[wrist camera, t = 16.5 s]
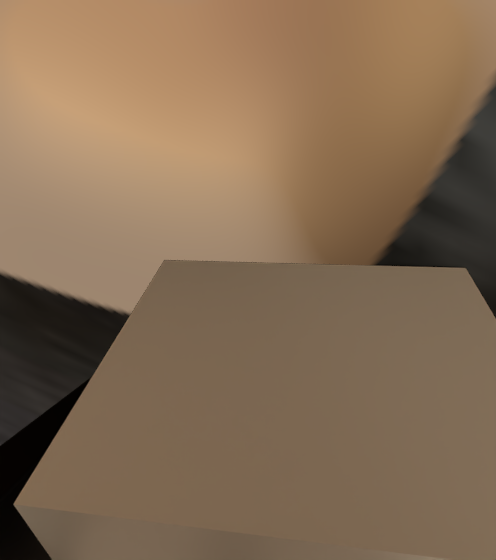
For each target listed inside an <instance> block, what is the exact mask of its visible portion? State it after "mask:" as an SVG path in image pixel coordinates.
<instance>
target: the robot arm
mask: <svg viewBox="0 0 496 560" xmlns="http://www.w3.org/2000/svg"><path fill="white" fill-rule="evenodd" d="M91 378H92V377H91ZM91 378H89V379H88V380H87V381H86V382H84V383H83V384H82V385H80V386H79V387H78V388H76V389H75V390H74V391H72V392H71V393H70V394H68V395H67V396H66V397H64V398H63V399H62V400H60V401H59V402H58V403H56V404H55V405H54V406H52V407H51V408H50V409H48V410H47V411H46V412H44V413H43V414H42V415H41V416H39V417H38V418H37V419H35V420H34V421H33V422H31V423H30V424H29V425H27V426H26V427H25V428H23V429H22V430H21V431H19V432H18V433H17V434H15V435H14V436H13V437H11V438H10V439H9V440H7V441H6V442H5V443H3V444H2V445H1V446H0V560H52V559H51V557H50V556H49V554H48V553H47V552H46V550H45V549H44V547H43V546H42V545H41V543H40V542H39V540H38V539H37V537H36V536H35V535H34V533H33V532H32V530H31V529H30V527H29V526H28V525H27V523H26V522H25V520H24V519H23V517H22V516H21V515H20V513H19V512H18V510H17V509H16V507H15V506H14V505H13V504H14V502H15V501H16V499H17V497H18V496H19V494H20V493H21V491H22V489H23V488H24V486H25V485H26V483H27V481H28V480H29V478H30V476H31V475H32V473H33V472H34V470H35V468H36V467H37V465H38V463H39V462H40V460H41V459H42V457H43V455H44V454H45V452H46V451H47V449H48V447H49V446H50V444H51V442H52V441H53V439H54V438H55V436H56V434H57V433H58V431H59V430H60V428H61V426H62V425H63V423H64V421H65V420H66V418H67V417H68V415H69V413H70V412H71V410H72V409H73V407H74V405H75V404H76V402H77V400H78V399H79V397H80V396H81V394H82V392H83V391H84V389H85V387H86V386H87V384H88V383H89V381H90V379H91Z"/></svg>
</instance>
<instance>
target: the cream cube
mask: <svg viewBox="0 0 496 560" xmlns="http://www.w3.org/2000/svg"><path fill="white" fill-rule="evenodd" d="M13 505H14V506H15V507H16V509H17V510H18V512H19V513H20V515H21V516H22V517H23V519H24V520H25V522H26V523H27V525H28V526H29V527H30V529H31V530H32V532H33V533H34V535H35V536H36V537H37V539H38V540H39V542H40V543H41V545H42V546H43V547H44V549H45V550H46V552H47V553H48V554H49V556H50V557H51V559H52V560H496V318H495V316H494V315H493V313H492V311H491V310H490V308H489V306H488V305H487V303H486V301H485V300H484V298H483V296H482V295H481V293H480V291H479V290H478V288H477V286H476V285H475V283H474V281H473V280H472V278H471V276H470V274H469V273H468V271H467V269H466V268H448V267H410V266H372V265H333V264H295V263H294V264H293V263H257V262H253V263H252V262H217V261H216V262H215V261H180V260H179V261H176V260H164V261H163V263H162V265H161V266H160V268H159V269H158V271H157V273H156V274H155V276H154V278H153V279H152V281H151V282H150V284H149V286H148V287H147V289H146V291H145V292H144V294H143V295H142V297H141V299H140V300H139V302H138V303H137V305H136V307H135V308H134V310H133V311H132V313H131V315H130V316H129V318H128V320H127V321H126V323H125V324H124V326H123V328H122V329H121V331H120V333H119V334H118V336H117V337H116V339H115V341H114V342H113V344H112V345H111V347H110V349H109V350H108V352H107V354H106V355H105V357H104V358H103V360H102V362H101V363H100V365H99V366H98V368H97V370H96V371H95V373H94V375H93V376H92V378H91V379H90V381H89V383H88V384H87V386H86V387H85V389H84V391H83V392H82V394H81V396H80V397H79V399H78V400H77V402H76V404H75V405H74V407H73V409H72V410H71V412H70V413H69V415H68V417H67V418H66V420H65V421H64V423H63V425H62V426H61V428H60V430H59V431H58V433H57V434H56V436H55V438H54V439H53V441H52V442H51V444H50V446H49V447H48V449H47V451H46V452H45V454H44V455H43V457H42V459H41V460H40V462H39V463H38V465H37V467H36V468H35V470H34V472H33V473H32V475H31V476H30V478H29V480H28V481H27V483H26V485H25V486H24V488H23V489H22V491H21V493H20V494H19V496H18V497H17V499H16V501H15V502H14V504H13Z"/></svg>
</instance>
